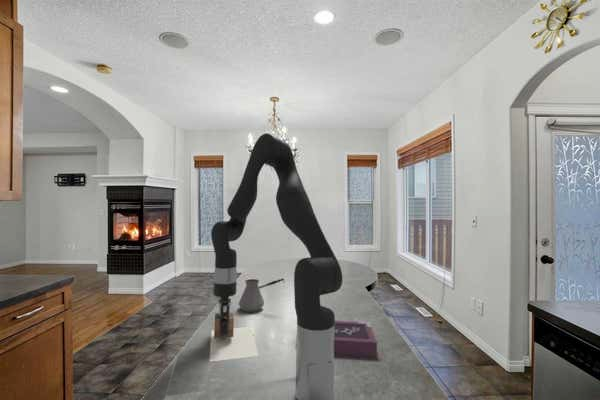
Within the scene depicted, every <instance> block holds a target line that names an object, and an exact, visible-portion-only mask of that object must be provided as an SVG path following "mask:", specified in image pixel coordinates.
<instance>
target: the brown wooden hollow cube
mask: <svg viewBox="0 0 600 400" xmlns="http://www.w3.org/2000/svg"><path fill="white" fill-rule="evenodd" d="M234 316H235V315H234V312H233V311H230V315H229V320H228V321H229V322H228V331H227V335H223V336H221V335H220V330H221V324H220V320H221V317H220V316H219V312H218V313H217V312H216V313H214V329H213V330H214V339H218V338H228V337H233V329H234V328H235V327H234V325H235V324H234V323H235V322H234V320H235V317H234ZM222 320H227V317H226V318H222Z"/></svg>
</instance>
